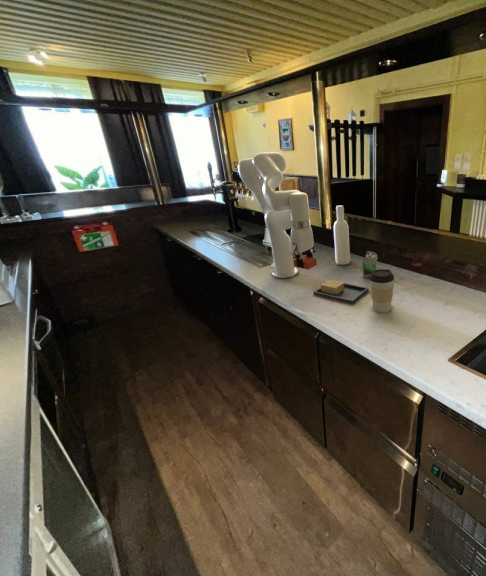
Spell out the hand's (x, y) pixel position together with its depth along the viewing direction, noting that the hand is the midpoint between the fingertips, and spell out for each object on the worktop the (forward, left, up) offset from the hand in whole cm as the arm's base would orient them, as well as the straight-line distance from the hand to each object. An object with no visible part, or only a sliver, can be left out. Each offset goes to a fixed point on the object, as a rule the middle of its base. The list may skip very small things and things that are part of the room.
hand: (305, 264), depth 132 cm
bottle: (-2, +34, -11) cm, 36 cm away
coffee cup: (+39, -3, -11) cm, 40 cm away
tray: (+18, +1, -11) cm, 21 cm away
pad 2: (+13, +1, -10) cm, 17 cm away
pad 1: (0, 0, -1) cm, 1 cm away
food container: (+20, +25, -11) cm, 33 cm away
